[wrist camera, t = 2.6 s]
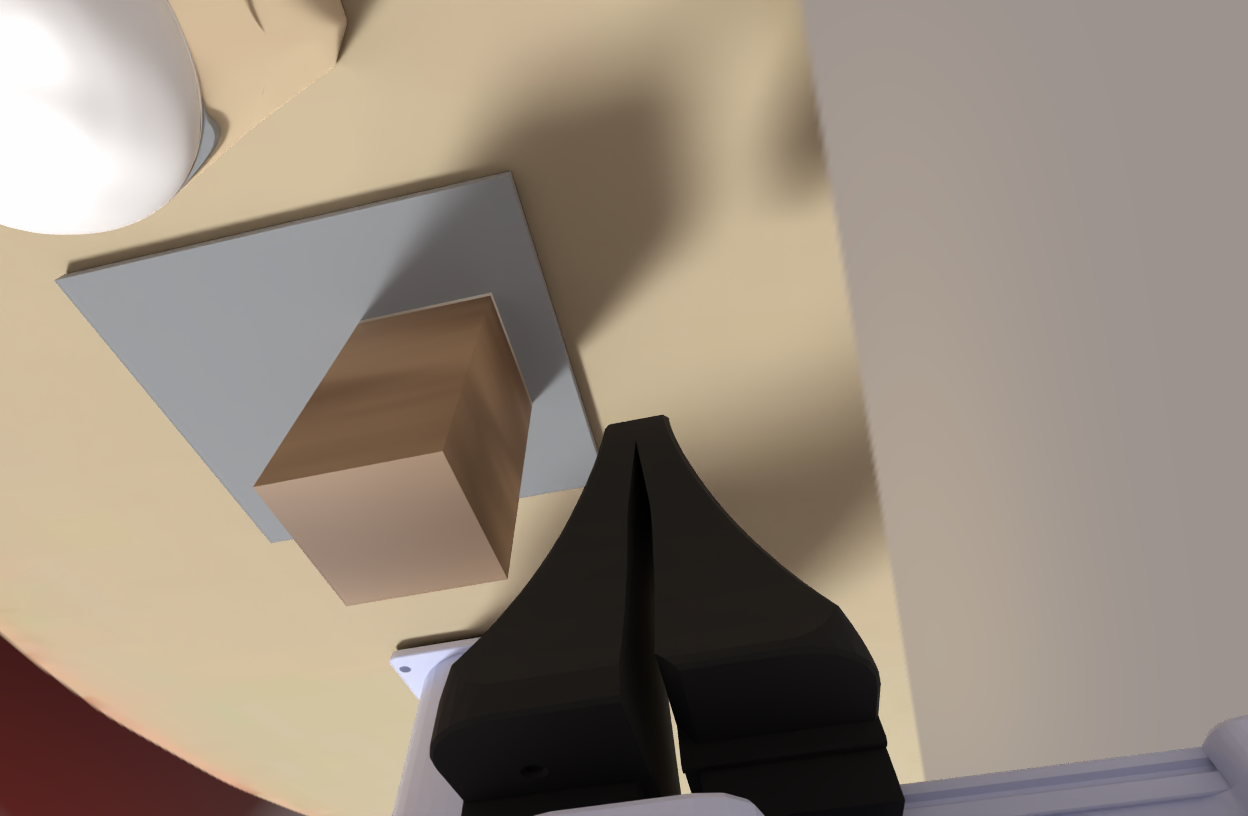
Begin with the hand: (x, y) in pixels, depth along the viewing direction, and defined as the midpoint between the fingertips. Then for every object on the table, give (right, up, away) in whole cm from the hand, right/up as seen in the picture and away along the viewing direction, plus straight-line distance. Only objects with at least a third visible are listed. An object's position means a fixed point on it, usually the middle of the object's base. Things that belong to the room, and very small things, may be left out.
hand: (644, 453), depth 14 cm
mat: (-9, +2, +6) cm, 11 cm away
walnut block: (-6, +2, +5) cm, 8 cm away
